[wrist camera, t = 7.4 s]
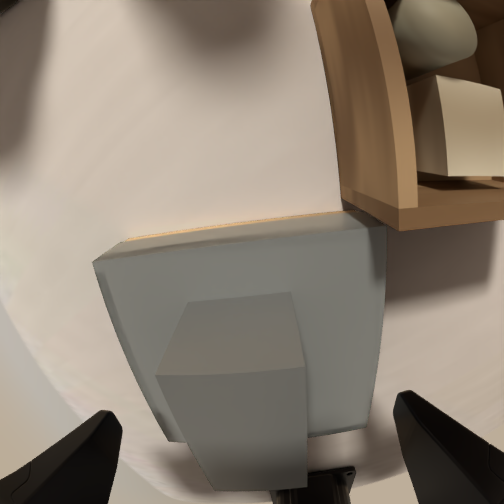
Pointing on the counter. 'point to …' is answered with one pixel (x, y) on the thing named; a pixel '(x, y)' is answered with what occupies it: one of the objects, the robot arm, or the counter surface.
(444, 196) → the storage box
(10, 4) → the supplement bottle
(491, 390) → the counter surface
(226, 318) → the lid
